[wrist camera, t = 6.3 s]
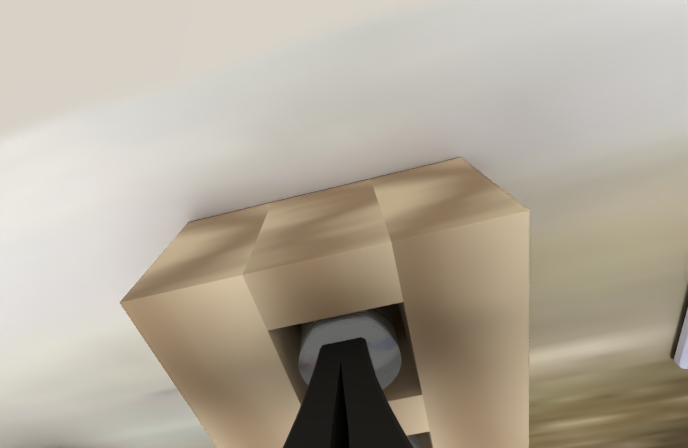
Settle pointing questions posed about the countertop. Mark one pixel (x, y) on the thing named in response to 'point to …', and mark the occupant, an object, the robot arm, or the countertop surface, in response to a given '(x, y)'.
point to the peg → (350, 326)
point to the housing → (351, 305)
